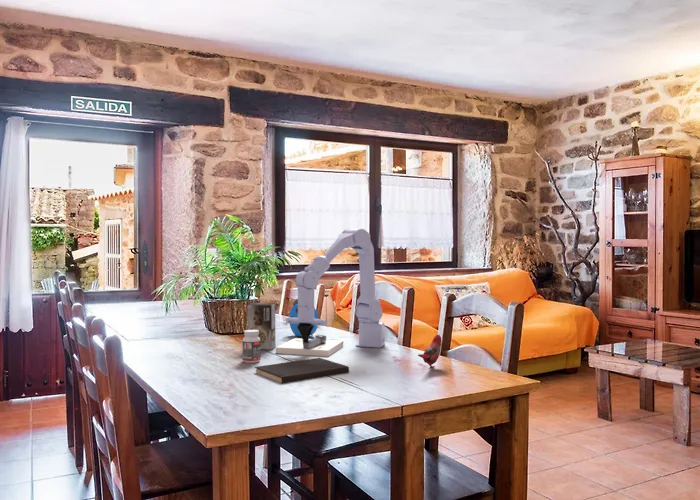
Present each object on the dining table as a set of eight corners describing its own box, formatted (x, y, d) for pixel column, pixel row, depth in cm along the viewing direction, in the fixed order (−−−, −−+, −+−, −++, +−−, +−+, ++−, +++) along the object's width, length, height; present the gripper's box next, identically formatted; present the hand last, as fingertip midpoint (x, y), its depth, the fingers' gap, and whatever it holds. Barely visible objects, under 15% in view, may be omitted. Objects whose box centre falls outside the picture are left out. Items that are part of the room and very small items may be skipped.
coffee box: (276, 346, 214) (276, 302, 214) (271, 349, 208) (272, 304, 207) (251, 345, 215) (251, 302, 214) (246, 349, 208) (247, 304, 208)
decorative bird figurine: (444, 365, 184) (445, 333, 184) (422, 376, 169) (422, 342, 169) (436, 364, 186) (436, 333, 186) (413, 375, 171) (413, 341, 170)
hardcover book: (254, 374, 173) (254, 366, 173) (319, 364, 187) (319, 357, 187) (281, 385, 160) (281, 377, 160) (349, 374, 174) (349, 366, 174)
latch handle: (319, 340, 213) (319, 334, 213) (328, 341, 212) (328, 335, 212) (301, 348, 199) (301, 341, 199) (310, 348, 198) (310, 341, 198)
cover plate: (343, 346, 215) (343, 340, 215) (328, 356, 197) (328, 350, 197) (294, 343, 220) (294, 337, 220) (275, 353, 202) (275, 347, 202)
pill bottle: (256, 363, 185) (256, 332, 185) (239, 362, 186) (239, 331, 186) (262, 359, 191) (262, 329, 190) (246, 359, 192) (246, 329, 192)
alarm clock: (318, 337, 233) (318, 300, 233) (305, 339, 230) (306, 301, 229) (300, 333, 244) (300, 297, 243) (288, 334, 240) (288, 298, 240)
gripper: (281, 306, 201) (281, 345, 201) (320, 308, 195) (319, 349, 195) (291, 304, 207) (291, 342, 207) (328, 306, 202) (328, 345, 202)
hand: (305, 345), depth 202 cm, fingers closed
